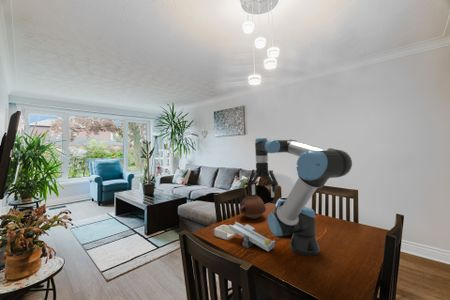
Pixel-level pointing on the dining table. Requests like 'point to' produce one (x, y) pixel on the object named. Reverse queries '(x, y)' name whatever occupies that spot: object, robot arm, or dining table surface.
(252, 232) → the seesaw
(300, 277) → the dining table surface
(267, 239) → the ball
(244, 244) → the trunnion stand
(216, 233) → the dish
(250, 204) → the vase
